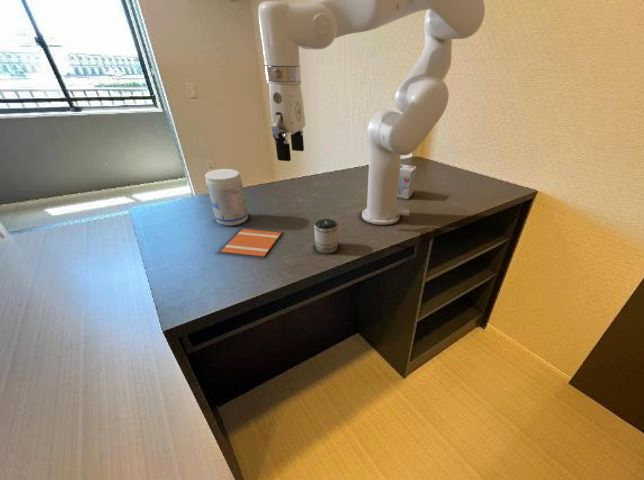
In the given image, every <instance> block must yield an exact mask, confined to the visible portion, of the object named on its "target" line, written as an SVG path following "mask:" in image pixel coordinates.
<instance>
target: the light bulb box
mask: <svg viewBox="0 0 644 480" xmlns="http://www.w3.org/2000/svg"><path fill="white" fill-rule="evenodd" d="M416 173H417V166H415V165H408V164H402V163H401V166H400V174H399V183H398V192H397V198H400V199H405V200H409V199H410V197H412V195H413V193H414V185H415V179H416Z"/></svg>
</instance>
